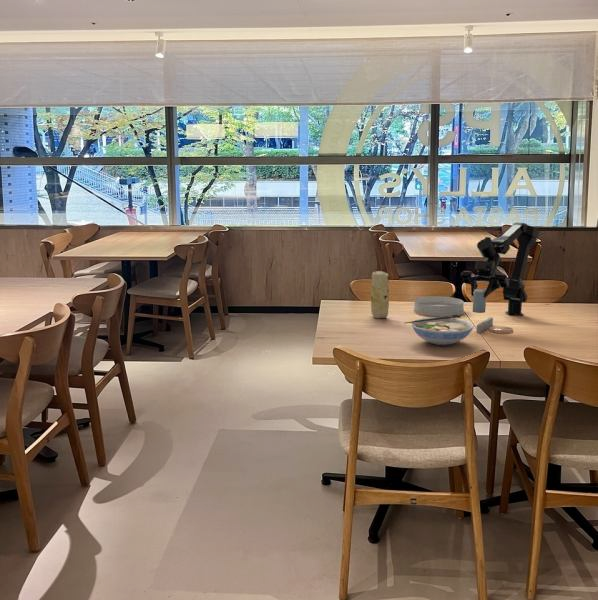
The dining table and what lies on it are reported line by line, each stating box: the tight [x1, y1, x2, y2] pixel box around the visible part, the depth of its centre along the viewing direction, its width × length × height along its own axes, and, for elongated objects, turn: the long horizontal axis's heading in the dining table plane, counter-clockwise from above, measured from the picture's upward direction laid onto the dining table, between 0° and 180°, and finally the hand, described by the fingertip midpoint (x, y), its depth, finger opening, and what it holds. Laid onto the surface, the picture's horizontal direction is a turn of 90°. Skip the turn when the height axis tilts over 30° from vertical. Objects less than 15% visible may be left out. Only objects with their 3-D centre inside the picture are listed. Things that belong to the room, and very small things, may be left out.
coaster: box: [488, 325, 514, 334], centre depth 269 cm, size 9×9×1 cm
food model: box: [370, 270, 390, 319], centre depth 293 cm, size 10×7×20 cm
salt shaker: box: [472, 288, 487, 314], centre depth 272 cm, size 5×5×9 cm
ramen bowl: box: [404, 314, 475, 347], centre depth 250 cm, size 25×23×8 cm
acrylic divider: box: [476, 317, 494, 334], centre depth 272 cm, size 16×1×3 cm, turn 146°
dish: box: [413, 295, 465, 317], centre depth 305 cm, size 22×22×5 cm
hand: (478, 296), depth 270 cm, fingers closed on salt shaker, 5 cm apart
